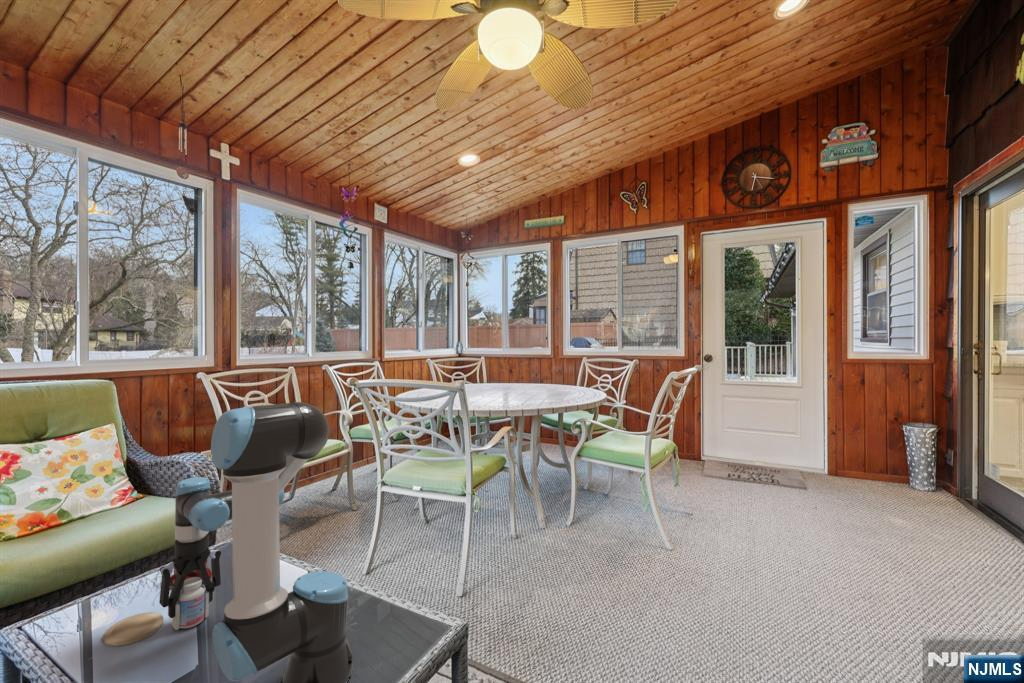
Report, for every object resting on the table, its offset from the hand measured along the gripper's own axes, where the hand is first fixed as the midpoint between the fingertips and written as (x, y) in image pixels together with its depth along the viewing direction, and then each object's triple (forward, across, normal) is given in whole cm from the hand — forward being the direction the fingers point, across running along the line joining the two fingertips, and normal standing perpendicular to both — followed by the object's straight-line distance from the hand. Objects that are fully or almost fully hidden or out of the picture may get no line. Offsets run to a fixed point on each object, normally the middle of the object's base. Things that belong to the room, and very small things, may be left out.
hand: (190, 620), depth 120 cm
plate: (+1, +10, -8) cm, 13 cm away
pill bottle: (+1, 0, 0) cm, 1 cm away
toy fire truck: (+1, -7, -21) cm, 22 cm away
